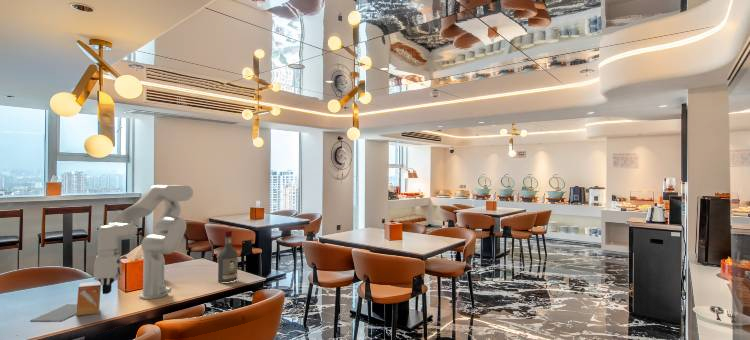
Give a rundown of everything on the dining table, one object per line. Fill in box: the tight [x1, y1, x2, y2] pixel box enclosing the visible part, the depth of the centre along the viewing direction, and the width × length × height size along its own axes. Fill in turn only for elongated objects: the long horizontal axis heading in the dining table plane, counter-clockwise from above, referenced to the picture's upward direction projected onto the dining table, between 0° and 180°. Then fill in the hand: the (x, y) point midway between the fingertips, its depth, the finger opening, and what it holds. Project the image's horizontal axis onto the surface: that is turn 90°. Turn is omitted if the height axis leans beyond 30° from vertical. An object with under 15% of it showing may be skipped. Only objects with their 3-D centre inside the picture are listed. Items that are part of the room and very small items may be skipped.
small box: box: [76, 281, 102, 317], centre depth 172 cm, size 8×6×13 cm
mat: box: [30, 303, 77, 322], centre depth 172 cm, size 13×20×1 cm, turn 1°
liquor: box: [217, 230, 239, 283], centre depth 224 cm, size 9×9×30 cm
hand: (106, 292), depth 172 cm, fingers closed
